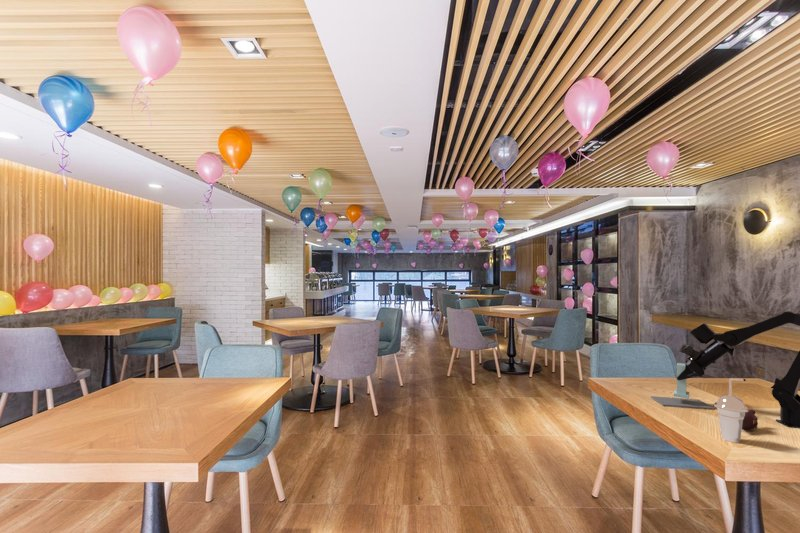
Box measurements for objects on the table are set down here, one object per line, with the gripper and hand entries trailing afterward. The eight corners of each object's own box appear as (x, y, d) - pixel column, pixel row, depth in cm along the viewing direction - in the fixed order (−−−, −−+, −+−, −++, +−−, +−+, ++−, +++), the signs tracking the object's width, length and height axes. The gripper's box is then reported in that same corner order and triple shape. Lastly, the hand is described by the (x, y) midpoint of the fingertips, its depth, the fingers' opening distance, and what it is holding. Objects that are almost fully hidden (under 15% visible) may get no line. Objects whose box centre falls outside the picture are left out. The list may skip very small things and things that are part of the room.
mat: (714, 409, 163) (714, 408, 163) (663, 405, 166) (663, 404, 166) (698, 400, 175) (698, 399, 175) (651, 397, 178) (651, 396, 178)
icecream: (754, 417, 134) (768, 413, 143) (727, 405, 140) (742, 402, 149) (746, 437, 135) (761, 432, 144) (720, 425, 141) (735, 421, 149)
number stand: (689, 394, 172) (689, 363, 172) (689, 398, 166) (689, 366, 167) (674, 392, 175) (674, 362, 175) (673, 396, 169) (673, 364, 169)
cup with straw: (743, 437, 134) (743, 373, 134) (753, 447, 125) (753, 379, 126) (710, 433, 137) (710, 370, 138) (718, 442, 129) (718, 376, 130)
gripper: (693, 335, 177) (662, 358, 183) (693, 340, 161) (659, 365, 167) (717, 356, 172) (684, 380, 178) (719, 363, 157) (683, 389, 163)
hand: (677, 378), depth 171 cm, fingers closed on number stand, 5 cm apart
